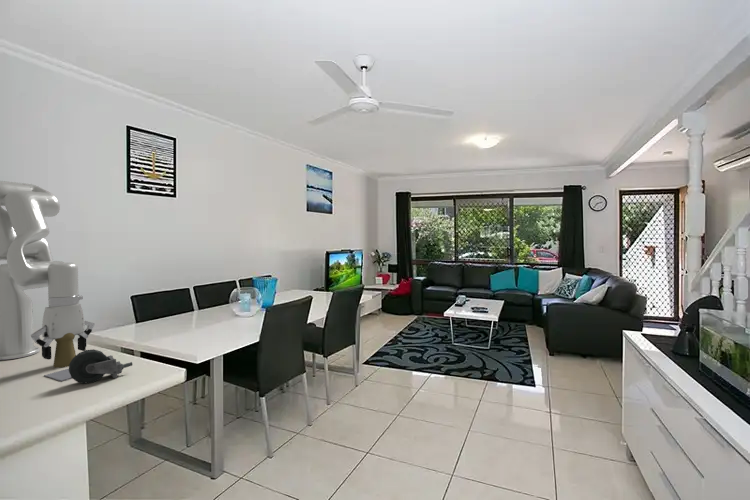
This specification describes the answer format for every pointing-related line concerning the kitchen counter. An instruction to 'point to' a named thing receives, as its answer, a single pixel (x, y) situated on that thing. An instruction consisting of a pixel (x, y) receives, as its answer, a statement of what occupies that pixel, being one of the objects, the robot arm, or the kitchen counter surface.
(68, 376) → the mat
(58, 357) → the cork
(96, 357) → the caster wheel
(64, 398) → the kitchen counter surface
